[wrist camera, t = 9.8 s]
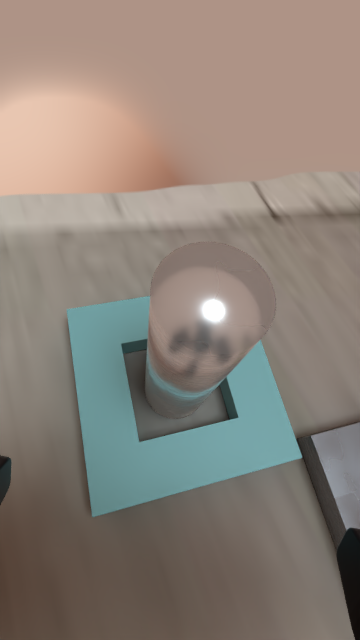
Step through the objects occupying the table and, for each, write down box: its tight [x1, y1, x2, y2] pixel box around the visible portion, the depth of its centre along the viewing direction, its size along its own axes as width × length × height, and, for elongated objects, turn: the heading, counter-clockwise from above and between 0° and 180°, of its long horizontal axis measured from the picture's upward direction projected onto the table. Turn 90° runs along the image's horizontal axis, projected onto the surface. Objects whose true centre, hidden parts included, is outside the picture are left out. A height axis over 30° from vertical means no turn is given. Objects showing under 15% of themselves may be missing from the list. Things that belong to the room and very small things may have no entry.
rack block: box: [67, 296, 302, 517], centre depth 21 cm, size 12×12×2 cm
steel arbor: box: [145, 242, 276, 419], centre depth 16 cm, size 4×4×13 cm
